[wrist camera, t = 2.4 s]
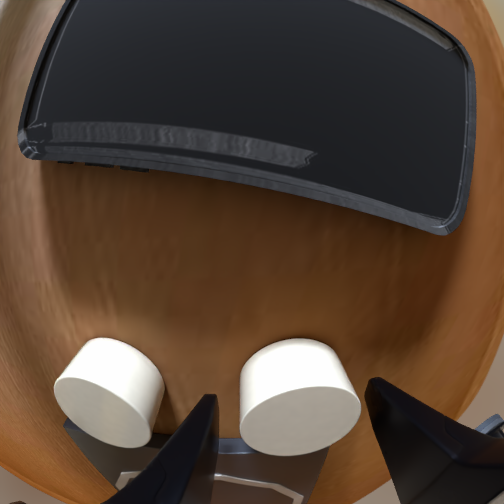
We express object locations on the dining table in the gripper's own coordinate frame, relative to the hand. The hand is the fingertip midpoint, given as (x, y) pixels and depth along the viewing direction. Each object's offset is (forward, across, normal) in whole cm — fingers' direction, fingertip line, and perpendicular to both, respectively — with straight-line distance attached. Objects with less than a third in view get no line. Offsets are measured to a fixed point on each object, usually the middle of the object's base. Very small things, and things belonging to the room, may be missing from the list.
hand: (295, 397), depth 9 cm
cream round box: (+1, +7, 0) cm, 7 cm away
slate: (+1, +5, +13) cm, 14 cm away
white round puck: (+1, 0, 0) cm, 1 cm away
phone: (+1, +1, -11) cm, 11 cm away
